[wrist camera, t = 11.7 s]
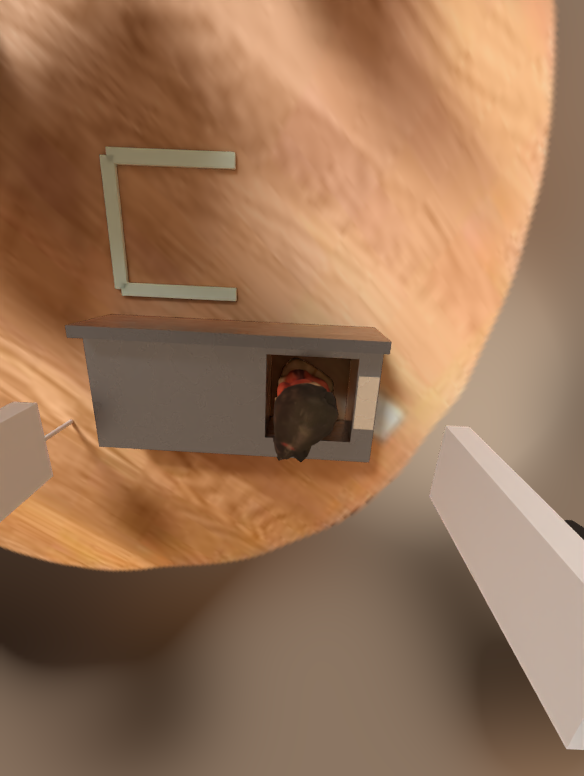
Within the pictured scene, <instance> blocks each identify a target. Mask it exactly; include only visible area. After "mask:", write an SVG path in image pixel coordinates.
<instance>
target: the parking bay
mask: <svg viewBox="0 0 584 776" xmlns="http://www.w3.org/2000/svg"><path fill="white" fill-rule="evenodd" d="M105 149H106V155H99V157H100V165H101V174H102V182H103V191H104V199H105V208H106V216H107V225H108V233H109V242H110V250H111V259H112V267H113V276H114V285H115V289H121V292H122V296H143V297H163V298H183V299H203V300H224V301H237V288H230V287H209V286H189V285H168V284H148V283H129V280H128V271H127V261H126V251H125V242H124V232H123V223H122V213H121V204H120V194H119V184H118V175H117V165H136V166H160V167H185V168H209V169H233V170H236V153H235V152H225V151H200V150H175V149H151V148H126V147H105Z"/></svg>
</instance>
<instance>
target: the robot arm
mask: <svg viewBox="0 0 584 776" xmlns="http://www.w3.org/2000/svg"><path fill="white" fill-rule="evenodd" d="M52 476H53V472H52V468H51V463H50V459H49V454H48V450H47V446H46V441H45V437H44V432H43V428H42V423H41V419H40V414H39V410H38V405H37V403H27V402H12V403H10V404H8V405H6V406H4V407H2V408H0V522H1V521H2V520H3V519H5V518H6V517H7V516H8V515H9V514H10V513H11V512H13V511H14V510H15V509H16V508H17V507H18V506H19V505H21V504H22V503H23V502H24V501H25V500H26V499H27V498H29V497H30V496H31V495H32V494H33V493H34V492H35V491H37V490H38V489H39V488H40V487H41V486H42V485H43V484H44V483H46V482H47V481H48V480H49V479H50V478H51V477H52ZM429 497H430V499H431V500H432V503H433V504H434V506H435V508H436V510H437V512H438V514H439V516H440V517H441V519H442V521H443V523H444V525H445V526H446V528H447V530H448V532H449V534H450V536H451V538H452V539H453V541H454V543H455V545H456V546H457V549H458V550H459V552H460V554H461V556H462V558H463V559H464V562H465V563H466V565H467V567H468V569H469V571H470V572H471V574H472V576H473V578H474V580H475V582H476V584H477V585H478V587H479V589H480V591H481V593H482V595H483V596H484V598H485V600H486V602H487V604H488V606H489V607H490V609H491V611H492V613H493V615H494V617H495V619H496V620H497V622H498V624H499V626H500V628H501V630H502V631H503V633H504V635H505V637H506V639H507V640H508V642H509V644H510V646H511V648H512V650H513V652H514V654H515V655H516V657H517V659H518V661H519V663H520V665H521V666H522V668H523V670H524V672H525V674H526V676H527V677H528V679H529V681H530V683H531V685H532V687H533V688H534V690H535V692H536V694H537V696H538V698H539V699H540V701H541V703H542V705H543V706H544V708H545V710H546V712H547V714H548V716H549V718H550V720H551V721H552V723H553V725H554V727H555V729H556V731H557V732H558V734H559V736H560V738H561V740H562V742H563V744H564V745H565V747H566V749H578V750H584V528H583V527H582V526H580V525H579V524H577V523H576V522H574V521H572V520H563V519H562V518H561V517H560V516H559V515H558V514H557V513H556V512H555V511H554V510H553V509H552V508H551V507H550V506H549V505H548V504H547V503H546V502H545V501H544V500H543V499H542V498H541V497H540V496H539V495H538V494H537V493H536V492H535V491H534V490H533V489H532V488H530V486H529V485H528V484H527V483H526V482H525V481H524V480H523V479H521V477H520V476H518V474H517V473H515V471H513V469H512V468H511V467H510V466H508V465H507V464H506V463H505V462H504V461H503V460H502V459H501V458H500V457H499V456H498V455H497V454H496V453H495V452H494V451H493V450H492V449H491V448H490V447H489V446H488V445H487V444H486V443H485V442H484V441H483V440H482V439H481V438H480V437H479V436H478V435H477V434H476V433H475V432H474V431H473V430H472V429H471V428H470V427H465V426H464V427H463V426H448V425H446V426H445V429H444V434H443V438H442V443H441V447H440V452H439V456H438V460H437V465H436V469H435V474H434V478H433V482H432V487H431V491H430V496H429Z"/></svg>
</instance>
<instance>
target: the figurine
mask: <svg viewBox="0 0 584 776" xmlns="http://www.w3.org/2000/svg"><path fill="white" fill-rule="evenodd" d="M278 384H279V386H278V388H277V396H278V397H275V403H274V415H273V423H274V433H275V436H274V438H273V442H274V447H275V451H276V454H277V459H278V460H282V459H289V458H290V457H294V458H296V459H297V460H299V461H300V462H302V461H303V460H304V459H305V458H306V457H307V456H308V454H309V452H310V449H311V446H313V445H315V444H316V443H318V442H319V441H321V440H322V439H323V438H324V437H326V436H328V435H329V434H330V433H331V432H332V430H333V427H334V424H335V422H336V420H337V418H338V410H337V407H336V399H335V397H334V395H333V393H332V391H333V387H334V384H333V382H332V380H331V379H330V378H329V377H328V376H327V375H326V374H324V373H323V372H322V371H320V370H319V369H317V368H316V367H314V366H313V365H311V364H309V363H307V362H306V361H304V360H302V359H299V358H292V359H291V360H289V361H288V363H287V364H286V365H285V366H284V367H283V369H282V374H281V377H280V378H279V380H278Z"/></svg>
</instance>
